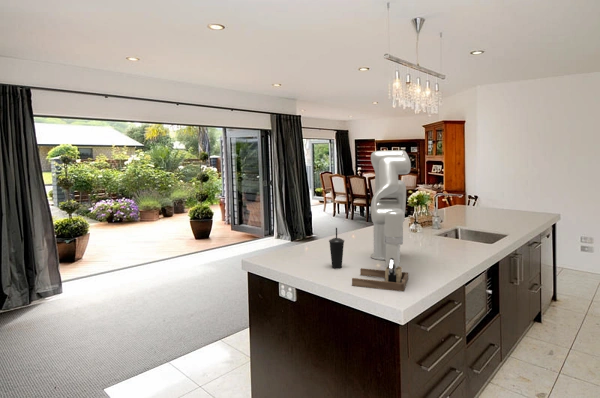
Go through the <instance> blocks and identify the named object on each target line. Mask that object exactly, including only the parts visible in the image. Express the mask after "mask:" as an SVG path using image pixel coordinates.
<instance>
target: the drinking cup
mask: <svg viewBox="0 0 600 398" xmlns="http://www.w3.org/2000/svg"><path fill="white" fill-rule="evenodd" d="M328 242H329V249H330V251H329V252H330V259H331V268H332V269H337V270H338V269H342V267H343V255H344V243H345V240H344V239H343V238H340V237H338V227H335V237H333V238H331V239H329V240H328Z"/></svg>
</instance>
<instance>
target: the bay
mask: <svg viewBox="0 0 600 398" xmlns="http://www.w3.org/2000/svg"><path fill="white" fill-rule="evenodd" d="M359 269H360V270H359V273H360V275H359V276H363V277H373V278H375V277H376V278H385V270H384V269H383V270H382V269H374V268H363V267H361V268H359ZM408 280H409V272H406V271H402V282H401V283H397V282H387V281H385V280H375V279H367V278H357V277H351V285H352V286H351V287H361V288H369V289H378V290H387V291H388V290H389V291H397V292H405V290H406V287H407V283H408Z"/></svg>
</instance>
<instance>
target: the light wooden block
mask: <svg viewBox="0 0 600 398" xmlns="http://www.w3.org/2000/svg"><path fill="white" fill-rule="evenodd" d="M393 267H395V266H393ZM393 270H394V269H393ZM402 272H403V267H402V266H401V265H399V266H398V268H396V282H397V283H401V282H402V280H403V279H402ZM388 274H389V266H388V267H387V268H386V267H385V279H384V281H387V282H388Z"/></svg>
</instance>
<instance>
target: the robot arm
mask: <svg viewBox="0 0 600 398" xmlns="http://www.w3.org/2000/svg"><path fill="white" fill-rule="evenodd" d="M370 162H371V165H372V167H373V170H374V175H375V176H374V195H373V196H372V197H371V198H372V199H371V203H370V209H371V210H370V214H371V216H370V217H371V221H372V223H373V253H371V254H370V257H371V258H372V259H373V260H378V261H385V266H384V267H385V269H386V268H387V267H388V266H389V274H388V282H396V268H398V266H400V263H401V262H400V261H401V246H402V245H403V244H404V221H405V219H406V216H405V214H406V207H407V206H406V201H407V185H406V183H405V182H404V181H403V180H401V179H399V175H408V174H410V172H411V167H412V163H411V160H410V157H409V155H408V153H407V151H405V150H401V149H396V150H393V149H392V150H375V151H373V152H371V154H370ZM393 266H395V267H393ZM393 269H394V270H393Z"/></svg>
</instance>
